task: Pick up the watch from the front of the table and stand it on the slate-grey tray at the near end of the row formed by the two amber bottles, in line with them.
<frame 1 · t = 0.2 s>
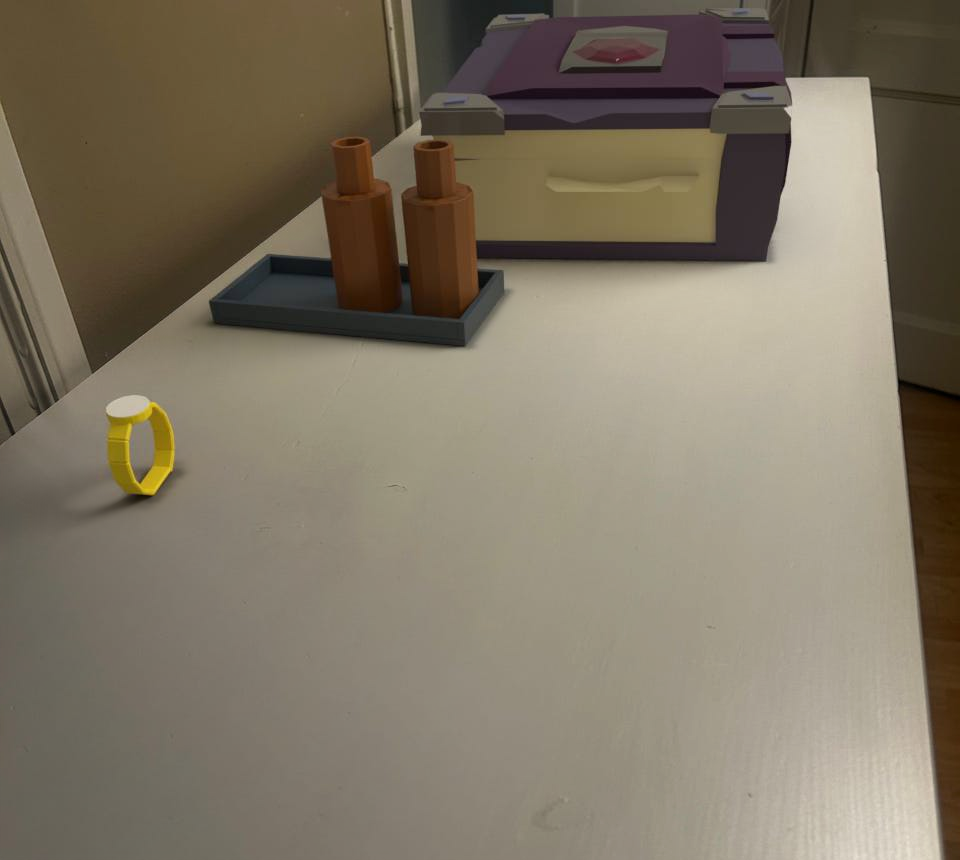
tray: (360, 307, 86), on the table
watch: (154, 486, 66), on the table
bottle far: (446, 314, 84), resting on tray
bottle mid: (371, 308, 86), resting on tray
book: (616, 188, 108), on the table
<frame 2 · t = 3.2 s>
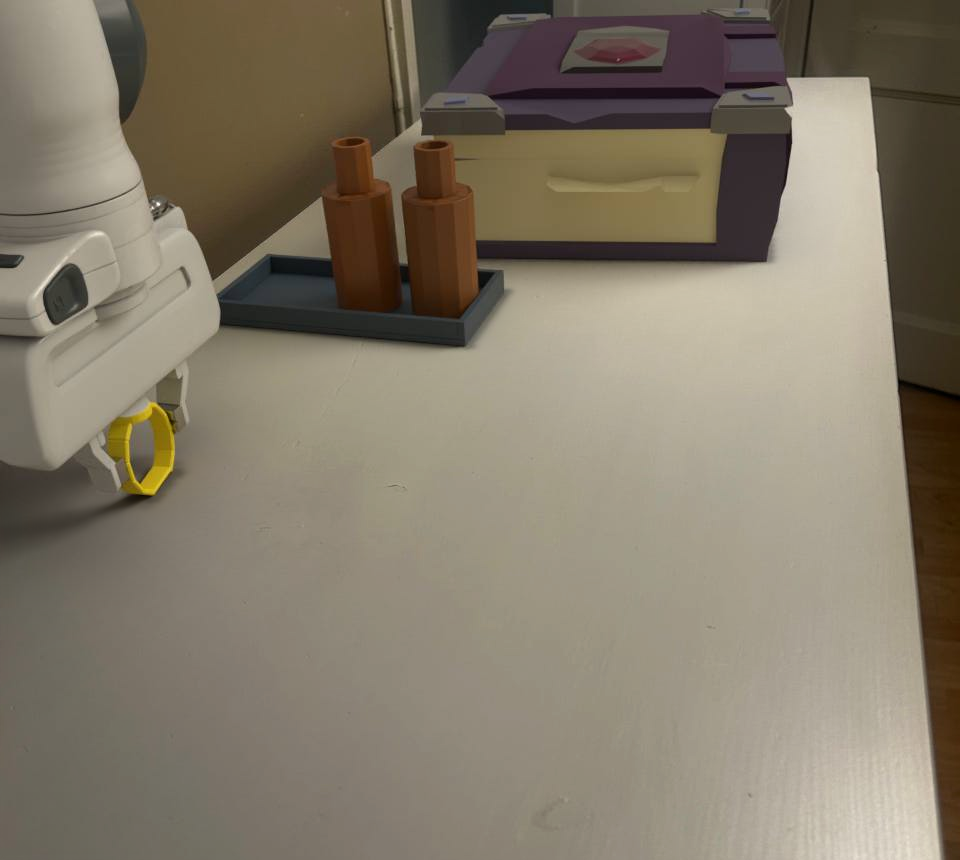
hand: (144, 456, 64), 2 cm above the table, tool pointing down, fingers closed on watch, 6 cm apart
watch: (154, 486, 66), on the table, touching gripper
everything else where it was.
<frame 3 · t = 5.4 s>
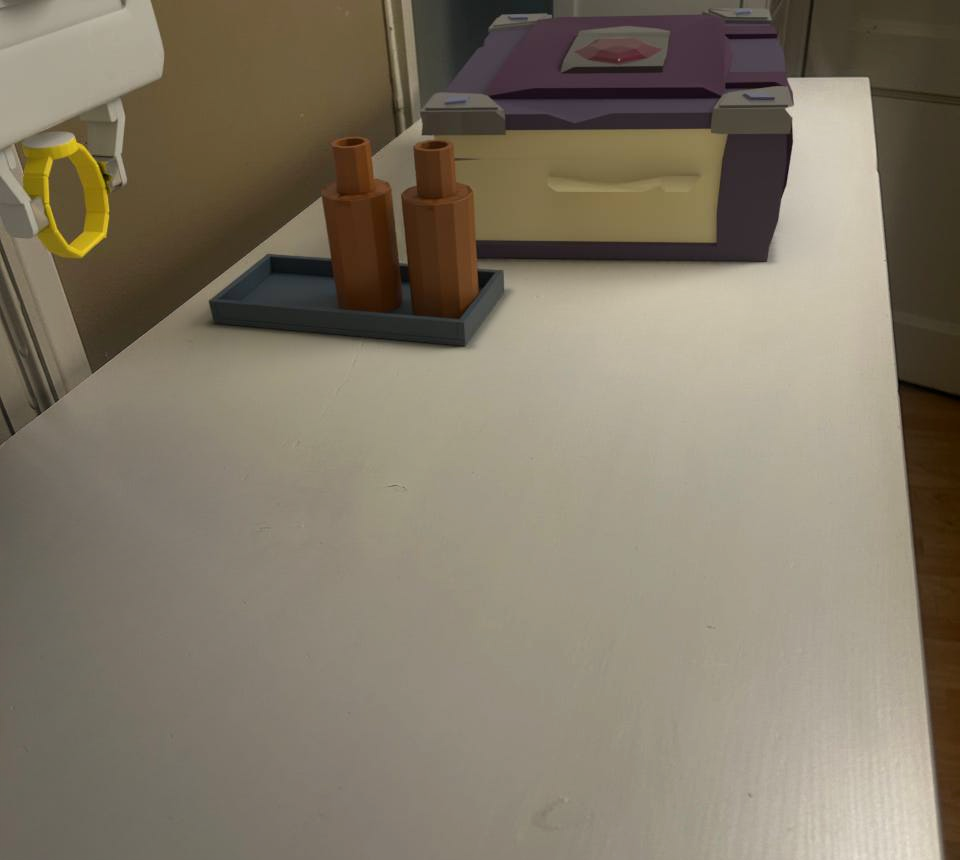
hand: (71, 210, 55), 17 cm above the table, tool pointing down, fingers closed on watch, 6 cm apart
watch: (84, 253, 57), point 15 cm above the table, touching gripper
everything else where it was.
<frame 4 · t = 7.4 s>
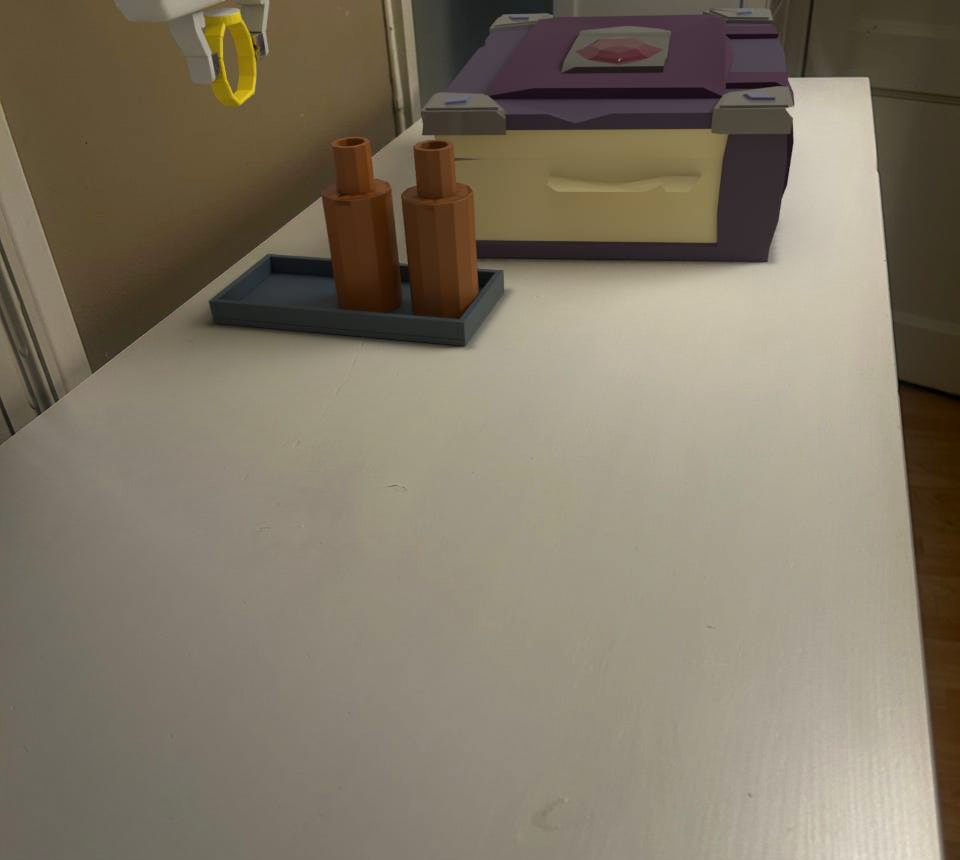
hand: (232, 70, 73), 19 cm above the table, tool pointing down, fingers closed on watch, 6 cm apart
watch: (239, 105, 75), point 17 cm above the table, touching gripper
everything else where it was.
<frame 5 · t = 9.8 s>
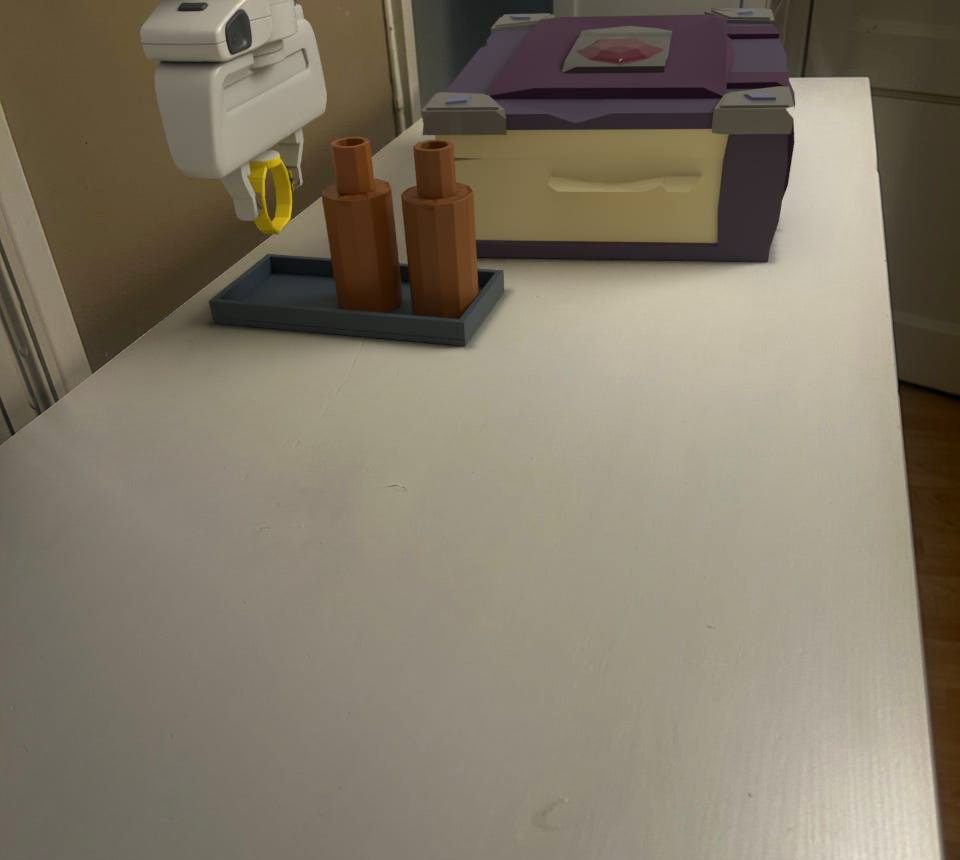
hand: (271, 203, 82), 9 cm above the table, tool pointing down, fingers closed on watch, 6 cm apart
watch: (277, 231, 84), point 6 cm above the table, touching gripper
everything else where it was.
when the fingers open (3 cm above the table, at t = 11.8 s): watch stays where it is, resting on tray.
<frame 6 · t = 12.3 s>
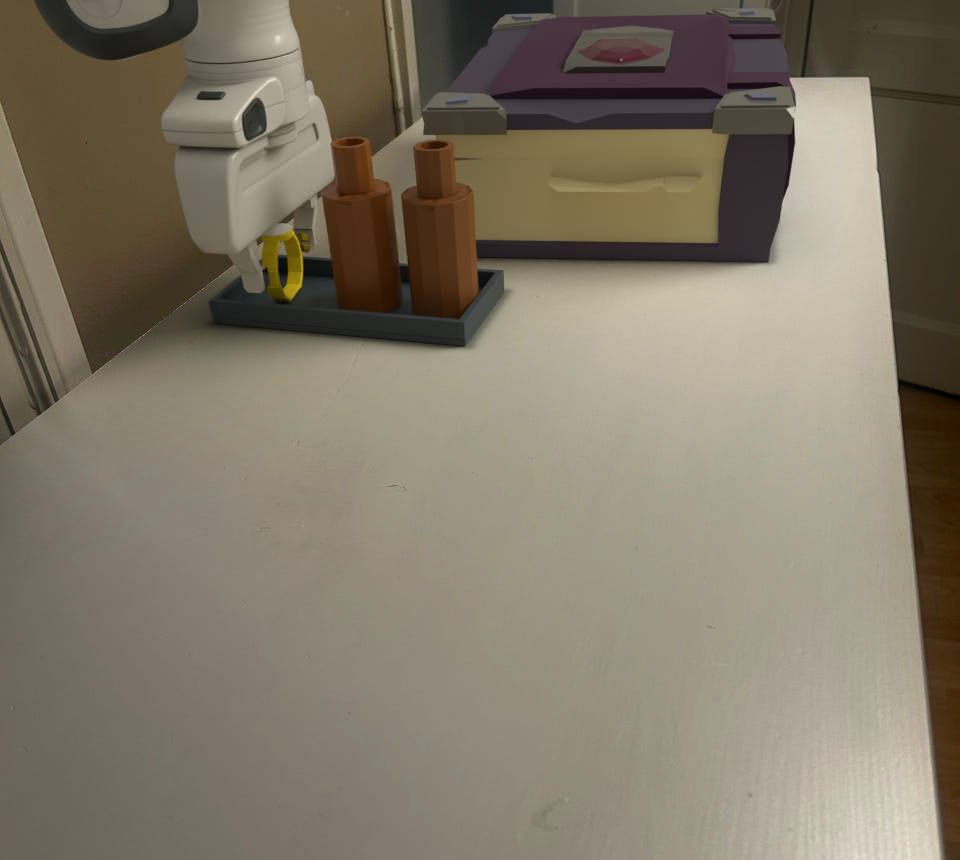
hand: (282, 269, 86), 3 cm above the table, tool pointing down, fingers open, 8 cm apart
watch: (289, 298, 88), resting on tray
everything else where it was.
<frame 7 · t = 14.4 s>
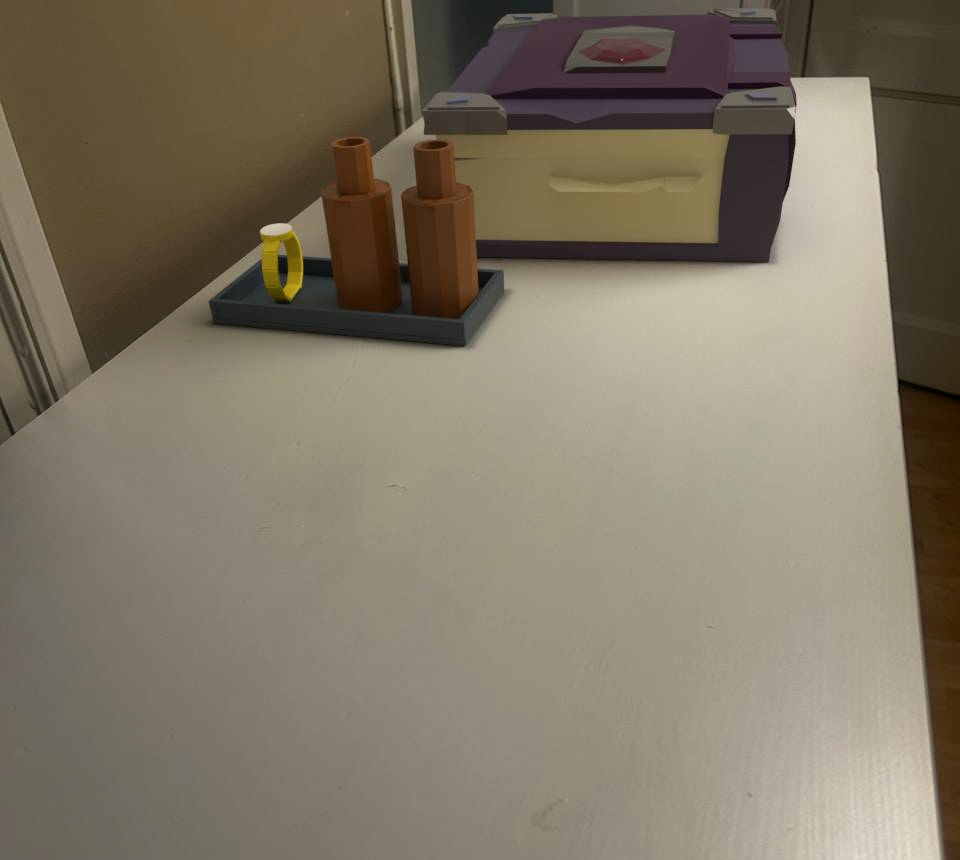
nothing on the table moved.
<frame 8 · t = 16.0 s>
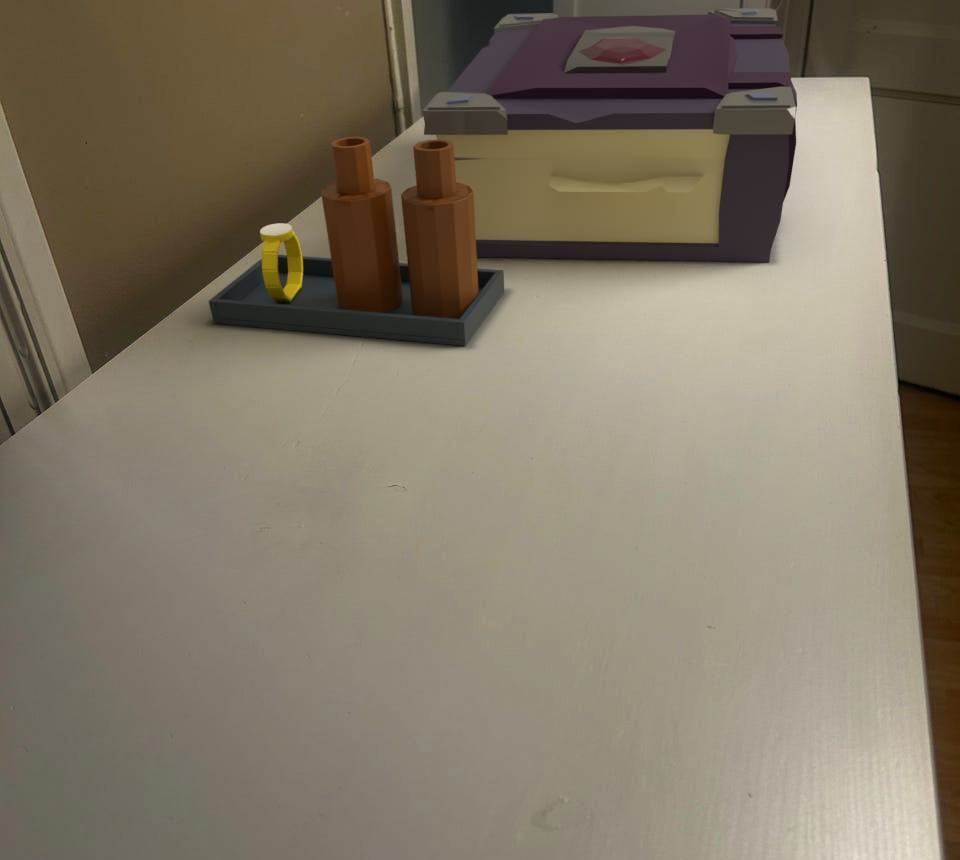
nothing on the table moved.
at the end: watch 0.1 cm from the target spot in the tray, point 0.3 cm above the tray's base; watch tilted 0°; the gripper is holding nothing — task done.
